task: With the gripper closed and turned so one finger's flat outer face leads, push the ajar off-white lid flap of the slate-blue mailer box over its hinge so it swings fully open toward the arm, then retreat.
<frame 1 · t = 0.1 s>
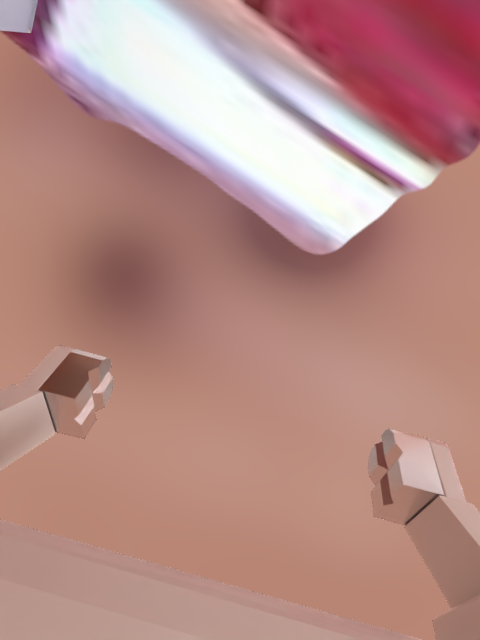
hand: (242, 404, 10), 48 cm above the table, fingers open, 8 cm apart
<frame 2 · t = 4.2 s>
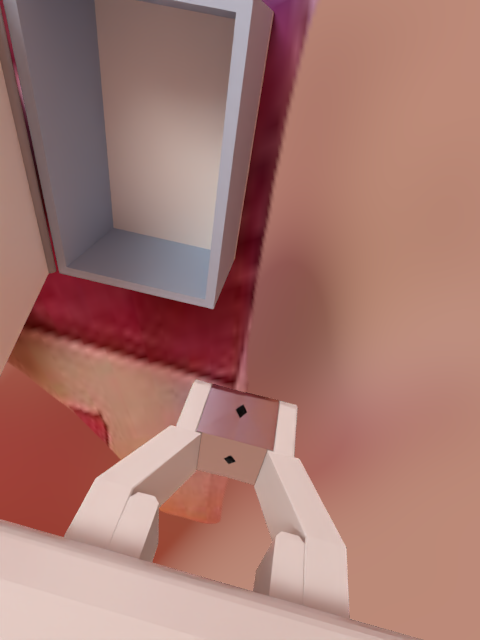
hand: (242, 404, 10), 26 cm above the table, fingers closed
box: (175, 144, 31), on the table
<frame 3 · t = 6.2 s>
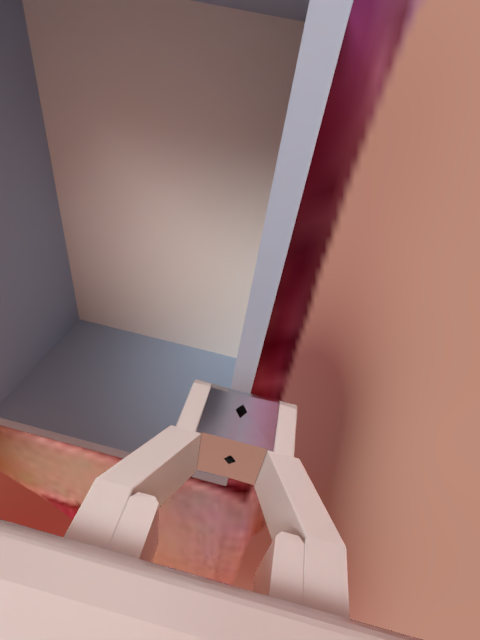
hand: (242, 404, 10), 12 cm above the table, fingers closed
box: (166, 212, 20), on the table
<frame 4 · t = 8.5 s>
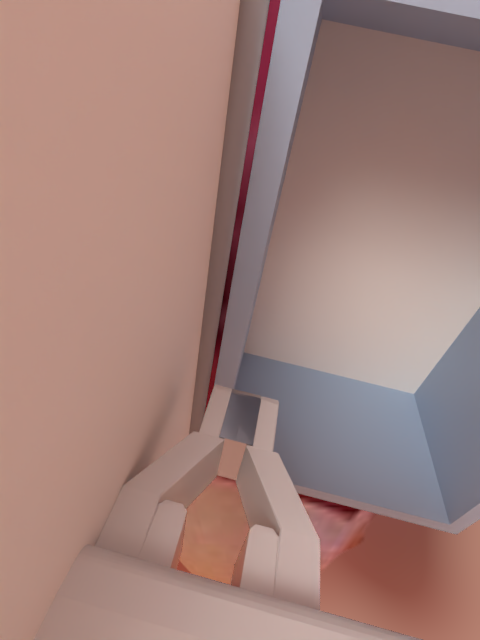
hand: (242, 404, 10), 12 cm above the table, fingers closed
lid: (102, 540, 7), point 17 cm above the table, hinge at 90.9°, touching arm, gripper
box: (379, 254, 20), on the table
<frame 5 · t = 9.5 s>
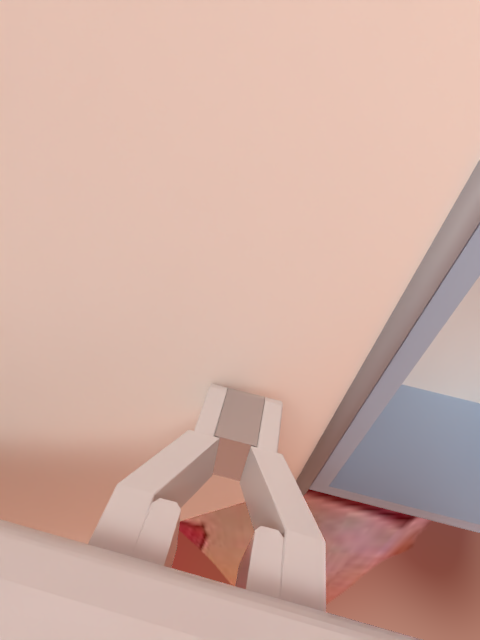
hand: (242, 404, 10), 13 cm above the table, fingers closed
lid: (173, 388, 10), point 13 cm above the table, hinge at 151.1°, touching gripper
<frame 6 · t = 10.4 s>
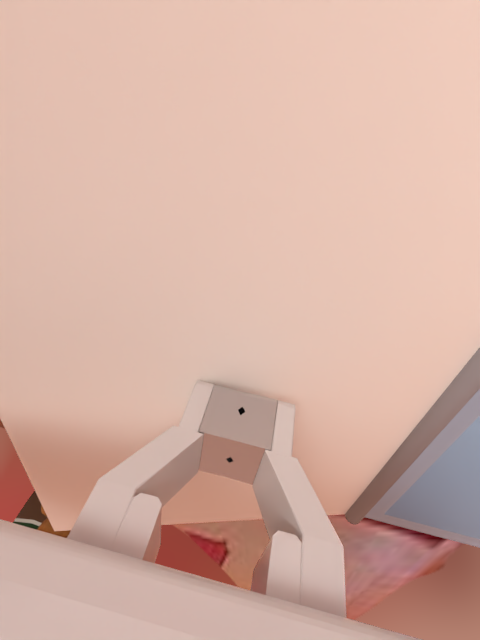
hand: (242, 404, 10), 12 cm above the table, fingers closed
lid: (253, 386, 11), point 11 cm above the table, hinge at 162.9°, touching gripper
beer bottle: (61, 496, 50), on the table
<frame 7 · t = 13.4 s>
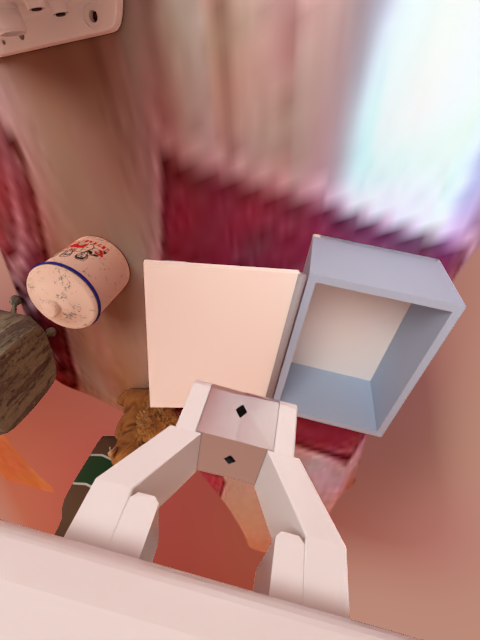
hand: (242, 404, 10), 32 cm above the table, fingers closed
lid: (218, 348, 37), point 11 cm above the table, hinge at 162.9°
box: (346, 316, 45), on the table
beer bottle: (116, 445, 76), on the table
brown cowbell: (44, 326, 58), on the table
stuffed squirrel: (158, 397, 63), on the table
teacup with lid: (93, 264, 48), on the table
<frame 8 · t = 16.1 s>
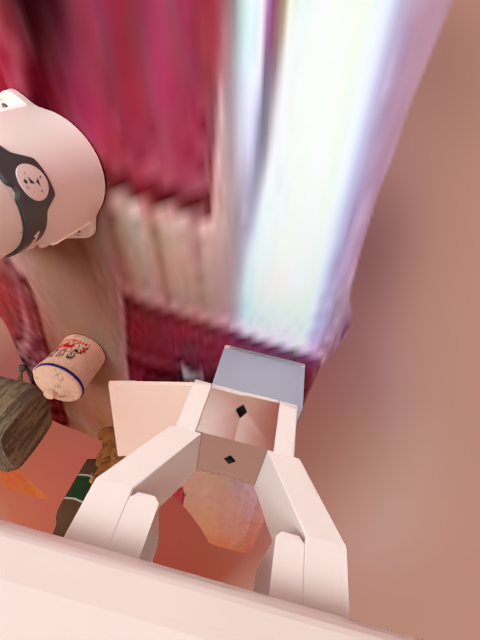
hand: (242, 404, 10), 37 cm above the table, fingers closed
lid: (160, 423, 57), point 11 cm above the table, hinge at 162.9°
box: (254, 391, 65), on the table
beer bottle: (98, 465, 96), on the table
brown cowbell: (42, 384, 78), on the table
stuffed squirrel: (129, 433, 83), on the table
teacup with lid: (79, 349, 68), on the table
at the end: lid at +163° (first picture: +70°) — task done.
